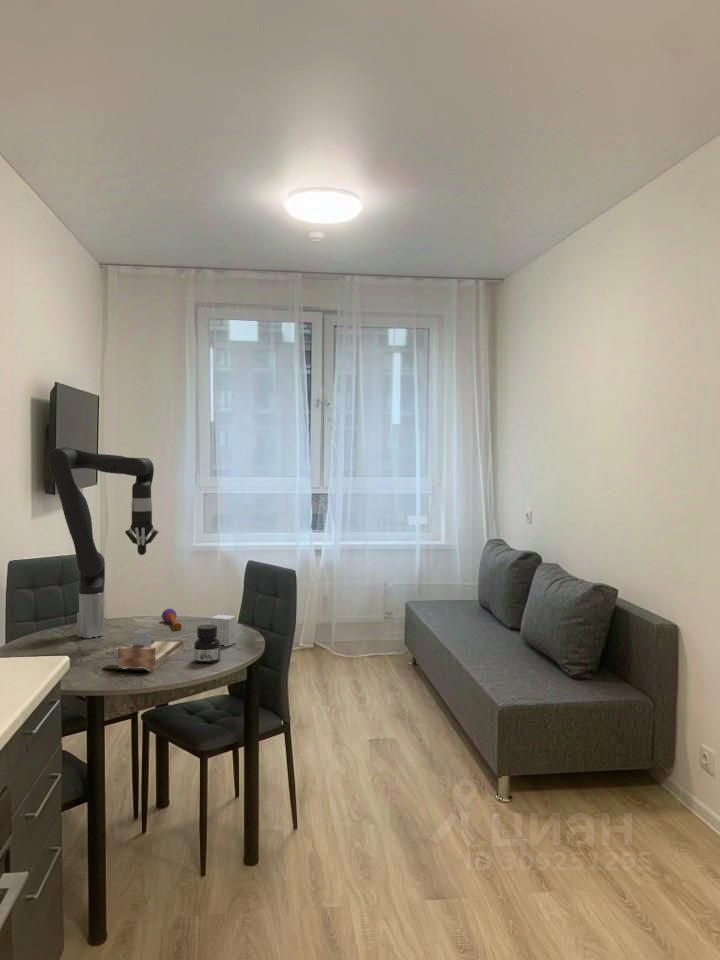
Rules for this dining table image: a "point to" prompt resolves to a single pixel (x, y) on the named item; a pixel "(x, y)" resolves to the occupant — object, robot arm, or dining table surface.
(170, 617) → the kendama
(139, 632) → the block
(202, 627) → the ink bottle
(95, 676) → the dining table surface
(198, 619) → the dining table surface
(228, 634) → the small box
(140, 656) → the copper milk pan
